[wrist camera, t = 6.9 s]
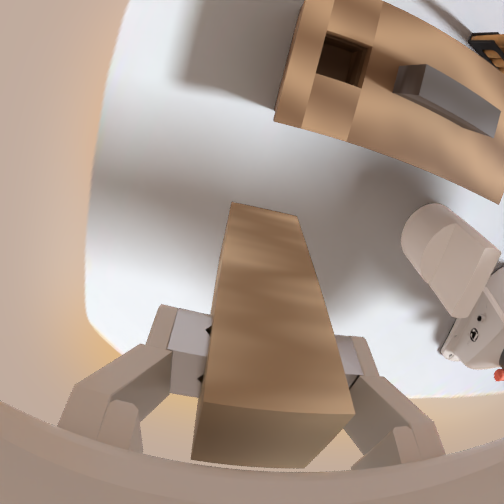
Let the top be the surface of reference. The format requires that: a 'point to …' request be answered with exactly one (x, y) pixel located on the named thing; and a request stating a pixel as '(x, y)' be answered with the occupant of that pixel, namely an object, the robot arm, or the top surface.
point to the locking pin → (269, 351)
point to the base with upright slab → (449, 256)
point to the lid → (400, 93)
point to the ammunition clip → (489, 47)
